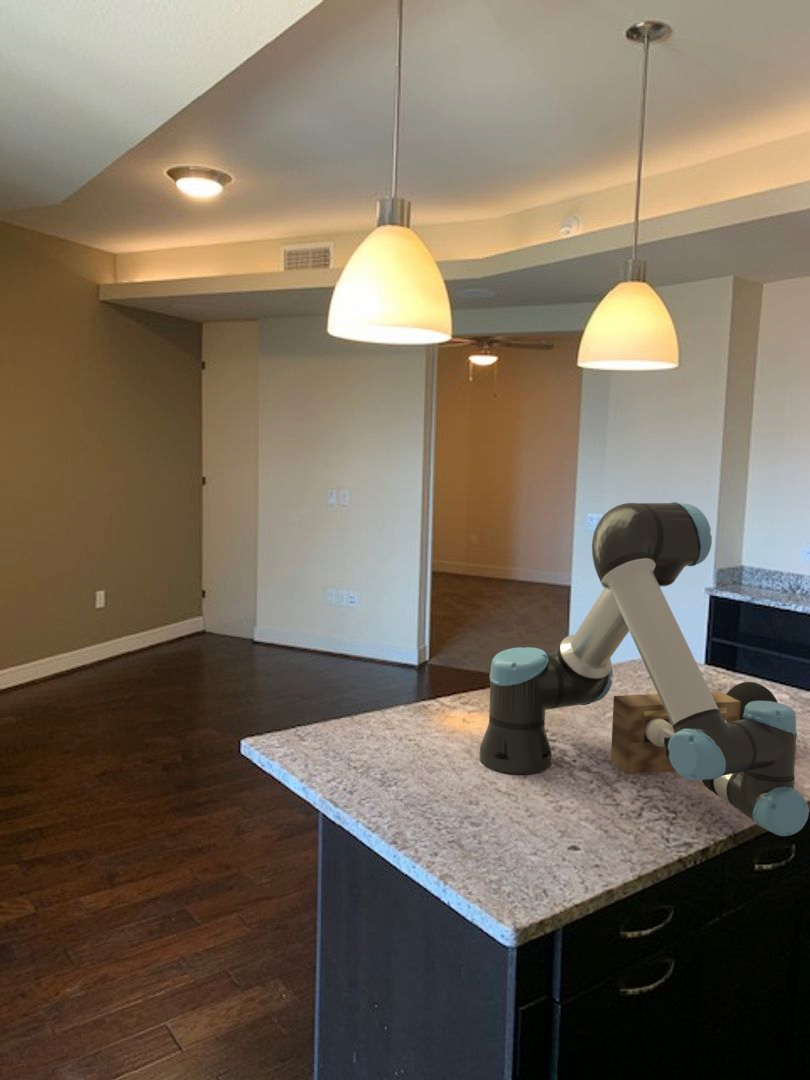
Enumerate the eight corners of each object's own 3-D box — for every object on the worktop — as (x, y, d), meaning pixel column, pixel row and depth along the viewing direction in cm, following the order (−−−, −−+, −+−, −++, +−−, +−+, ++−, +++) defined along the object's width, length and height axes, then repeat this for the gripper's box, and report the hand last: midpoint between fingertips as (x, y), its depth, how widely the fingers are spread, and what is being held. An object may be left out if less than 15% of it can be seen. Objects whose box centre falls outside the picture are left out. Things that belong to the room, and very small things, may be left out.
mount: (626, 774, 159) (630, 706, 157) (610, 760, 166) (613, 695, 164) (736, 768, 163) (741, 702, 162) (716, 754, 171) (720, 691, 169)
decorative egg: (766, 762, 167) (771, 694, 165) (709, 747, 175) (714, 682, 174) (786, 748, 176) (791, 683, 174) (731, 734, 184) (735, 672, 182)
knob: (649, 747, 157) (651, 722, 156) (615, 721, 172) (616, 698, 171) (673, 745, 158) (675, 721, 157) (637, 720, 173) (638, 697, 172)
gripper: (695, 802, 133) (632, 754, 156) (765, 797, 135) (692, 751, 158) (697, 759, 132) (634, 717, 155) (767, 755, 134) (694, 715, 158)
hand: (663, 735), depth 157 cm, fingers closed
